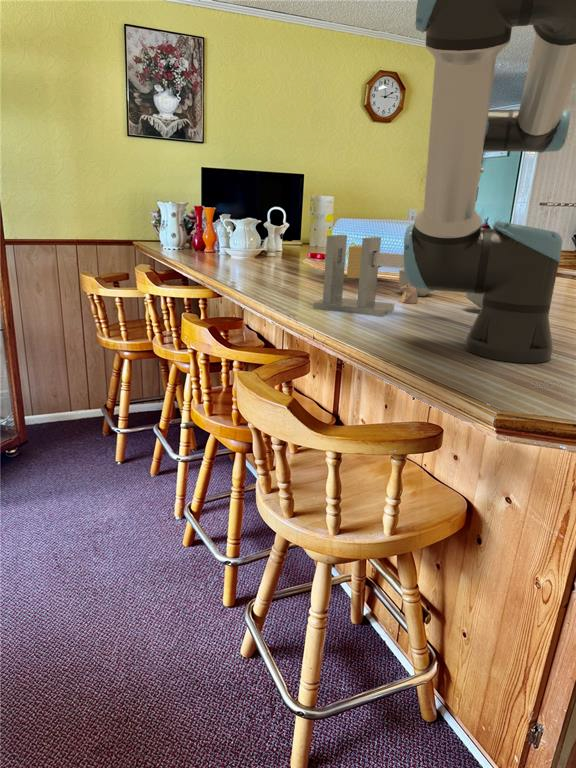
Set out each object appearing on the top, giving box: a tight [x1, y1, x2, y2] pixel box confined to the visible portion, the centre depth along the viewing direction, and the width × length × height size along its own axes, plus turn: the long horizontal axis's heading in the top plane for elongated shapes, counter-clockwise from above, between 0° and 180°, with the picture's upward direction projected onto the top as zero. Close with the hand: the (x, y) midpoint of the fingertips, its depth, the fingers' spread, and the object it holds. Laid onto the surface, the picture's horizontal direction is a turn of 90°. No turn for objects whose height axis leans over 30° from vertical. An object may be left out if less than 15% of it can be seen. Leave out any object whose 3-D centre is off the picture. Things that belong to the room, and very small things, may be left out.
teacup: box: [398, 268, 432, 297], centre depth 167 cm, size 14×11×8 cm
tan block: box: [346, 244, 362, 279], centre depth 136 cm, size 7×4×7 cm, turn 157°
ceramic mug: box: [464, 292, 483, 309], centre depth 143 cm, size 11×8×8 cm
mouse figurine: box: [398, 284, 426, 305], centre depth 152 cm, size 5×8×7 cm, turn 91°
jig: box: [313, 234, 395, 318], centre depth 137 cm, size 12×18×18 cm, turn 67°
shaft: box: [372, 252, 404, 269], centre depth 131 cm, size 4×24×4 cm, turn 67°
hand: (447, 287), depth 129 cm, fingers closed on shaft, 4 cm apart
